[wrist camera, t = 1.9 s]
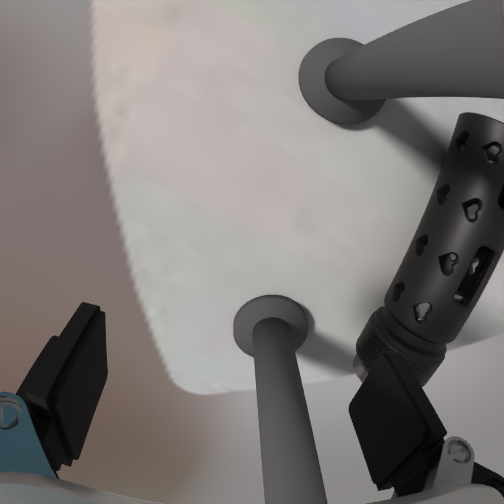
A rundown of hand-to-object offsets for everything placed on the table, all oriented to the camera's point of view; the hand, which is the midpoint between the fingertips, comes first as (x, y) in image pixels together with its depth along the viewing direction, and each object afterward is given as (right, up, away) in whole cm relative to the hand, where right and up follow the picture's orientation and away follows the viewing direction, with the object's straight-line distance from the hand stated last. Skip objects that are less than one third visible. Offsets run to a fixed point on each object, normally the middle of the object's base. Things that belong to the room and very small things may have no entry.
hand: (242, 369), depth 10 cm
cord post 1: (+2, -4, +25) cm, 25 cm away
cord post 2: (+8, +19, +15) cm, 26 cm away
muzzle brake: (+19, +5, +22) cm, 29 cm away
